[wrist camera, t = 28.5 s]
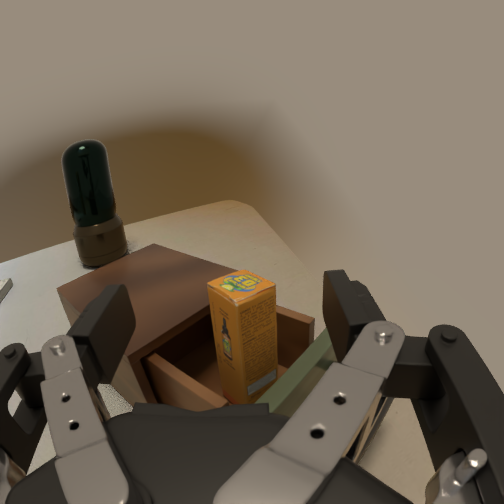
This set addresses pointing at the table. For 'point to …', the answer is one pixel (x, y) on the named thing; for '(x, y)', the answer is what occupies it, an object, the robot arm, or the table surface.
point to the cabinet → (148, 304)
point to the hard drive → (5, 287)
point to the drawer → (208, 377)
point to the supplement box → (244, 334)
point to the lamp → (93, 203)
